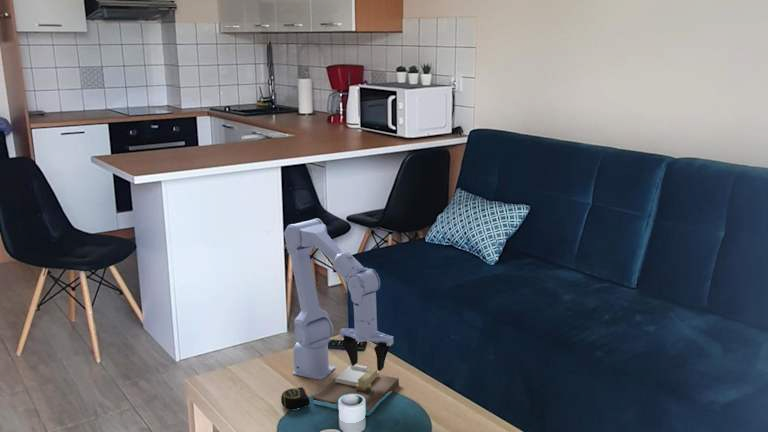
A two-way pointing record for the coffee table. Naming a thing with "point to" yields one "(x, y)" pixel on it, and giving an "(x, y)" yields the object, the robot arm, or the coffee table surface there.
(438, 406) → the coffee table surface
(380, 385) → the lock board
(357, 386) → the t-key
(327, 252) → the robot arm
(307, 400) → the tape measure
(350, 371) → the lid
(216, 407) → the coffee table surface
